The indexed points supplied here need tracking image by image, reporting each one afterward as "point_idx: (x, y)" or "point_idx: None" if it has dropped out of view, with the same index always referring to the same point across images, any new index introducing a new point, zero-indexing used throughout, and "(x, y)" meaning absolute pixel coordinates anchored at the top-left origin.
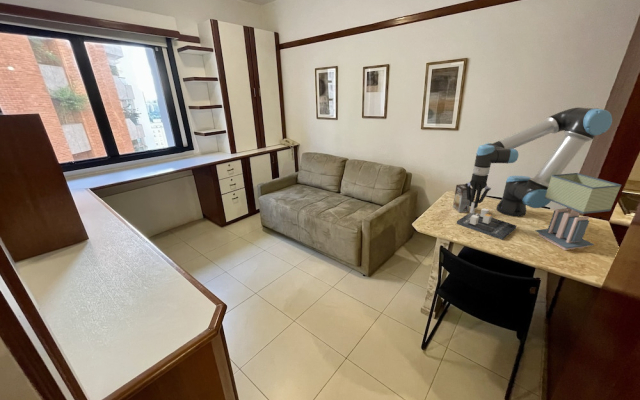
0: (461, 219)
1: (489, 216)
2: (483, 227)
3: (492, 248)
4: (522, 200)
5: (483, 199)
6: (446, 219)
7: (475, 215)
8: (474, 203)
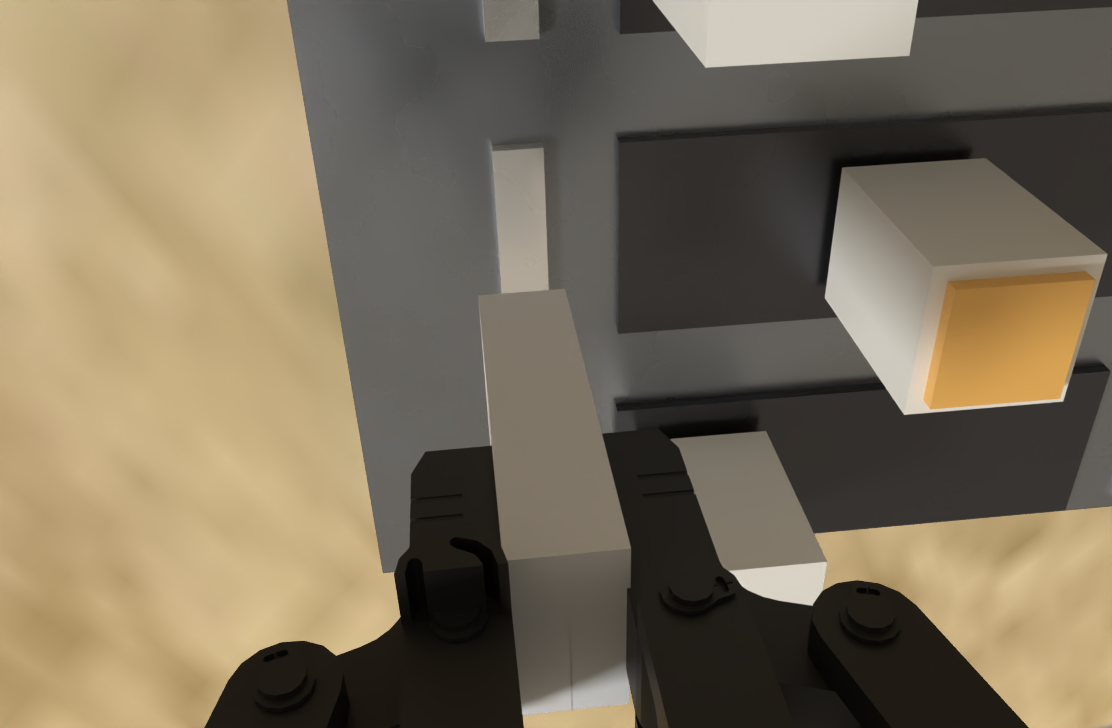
0: (401, 461)
1: (1054, 376)
2: (909, 472)
3: (1101, 713)
4: None
5: (1008, 723)
6: (124, 507)
7: (735, 573)
8: (623, 675)
